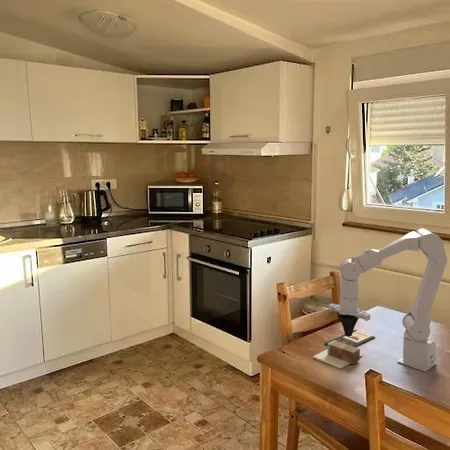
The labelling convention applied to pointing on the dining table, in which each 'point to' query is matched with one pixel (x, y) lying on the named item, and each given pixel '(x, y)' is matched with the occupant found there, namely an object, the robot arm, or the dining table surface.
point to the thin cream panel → (331, 359)
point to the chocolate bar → (353, 339)
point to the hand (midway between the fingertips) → (348, 335)
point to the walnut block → (343, 352)
